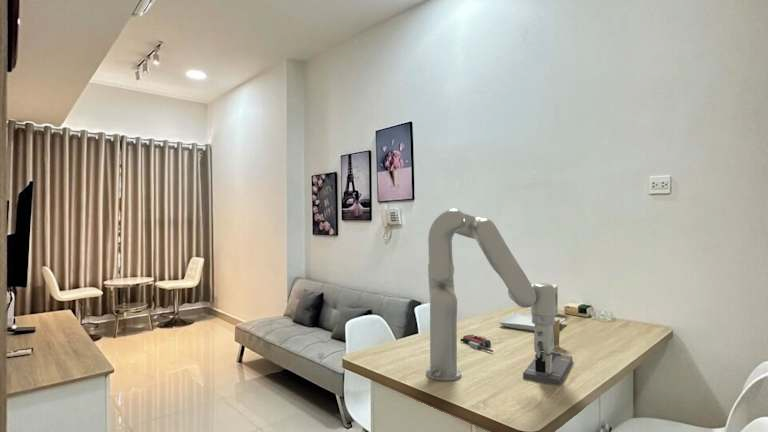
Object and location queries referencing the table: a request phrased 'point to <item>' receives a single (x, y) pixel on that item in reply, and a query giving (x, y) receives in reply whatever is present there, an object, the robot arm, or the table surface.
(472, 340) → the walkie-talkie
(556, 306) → the supplement box
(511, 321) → the square plate
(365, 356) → the table surface
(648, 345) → the table surface
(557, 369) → the slider console
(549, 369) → the fader knob
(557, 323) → the skincare box
